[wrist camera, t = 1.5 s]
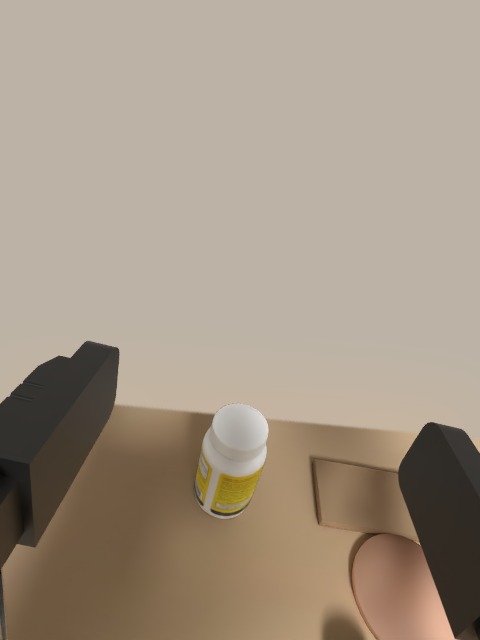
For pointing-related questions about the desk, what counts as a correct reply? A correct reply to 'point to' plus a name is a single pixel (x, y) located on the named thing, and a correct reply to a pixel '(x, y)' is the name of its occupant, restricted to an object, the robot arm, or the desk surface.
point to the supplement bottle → (231, 460)
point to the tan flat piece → (382, 552)
